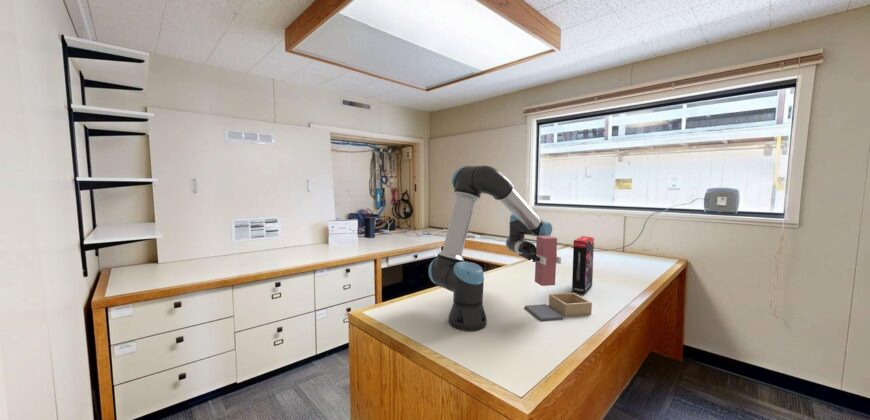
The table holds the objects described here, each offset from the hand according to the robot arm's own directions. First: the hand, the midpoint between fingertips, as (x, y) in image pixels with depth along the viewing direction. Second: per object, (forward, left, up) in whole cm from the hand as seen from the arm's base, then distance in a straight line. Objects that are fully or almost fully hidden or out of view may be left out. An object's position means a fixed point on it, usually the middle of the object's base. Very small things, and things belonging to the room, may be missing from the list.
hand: (552, 261), depth 134 cm
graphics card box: (+37, +30, -24) cm, 53 cm away
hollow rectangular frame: (+14, +7, -24) cm, 29 cm away
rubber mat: (0, +5, -24) cm, 25 cm away
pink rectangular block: (0, +5, -11) cm, 12 cm away
